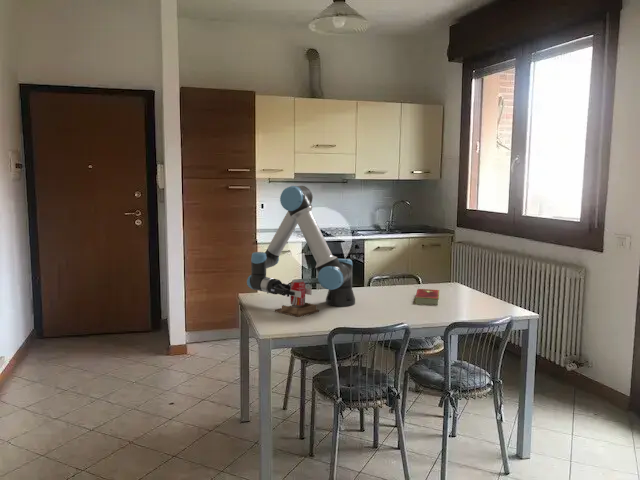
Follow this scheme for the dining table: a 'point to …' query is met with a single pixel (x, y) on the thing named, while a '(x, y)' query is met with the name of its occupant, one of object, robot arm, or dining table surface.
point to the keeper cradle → (298, 310)
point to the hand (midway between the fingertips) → (305, 293)
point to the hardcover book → (427, 296)
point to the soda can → (298, 286)
